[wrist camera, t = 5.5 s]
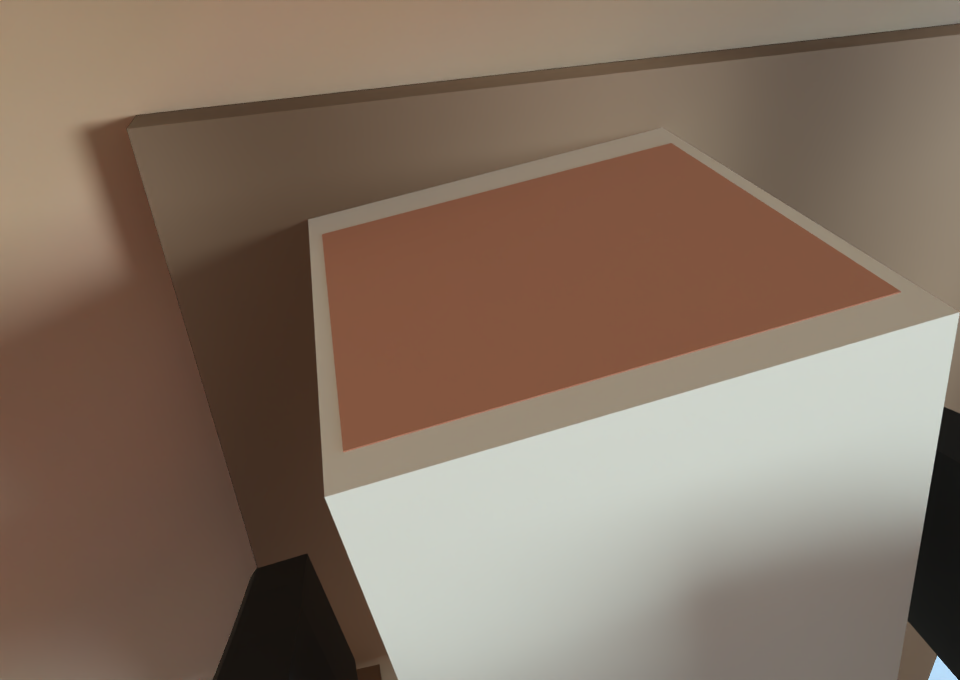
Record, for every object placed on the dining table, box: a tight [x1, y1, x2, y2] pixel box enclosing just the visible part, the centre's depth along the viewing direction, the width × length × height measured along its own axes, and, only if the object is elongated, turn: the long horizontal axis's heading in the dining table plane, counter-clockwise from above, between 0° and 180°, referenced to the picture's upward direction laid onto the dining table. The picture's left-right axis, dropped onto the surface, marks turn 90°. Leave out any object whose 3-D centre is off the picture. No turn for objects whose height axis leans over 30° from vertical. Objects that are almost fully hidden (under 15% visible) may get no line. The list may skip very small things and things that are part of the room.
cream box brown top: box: [308, 128, 960, 680], centre depth 9 cm, size 4×8×5 cm, turn 12°
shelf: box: [127, 24, 960, 680], centre depth 12 cm, size 14×16×4 cm
